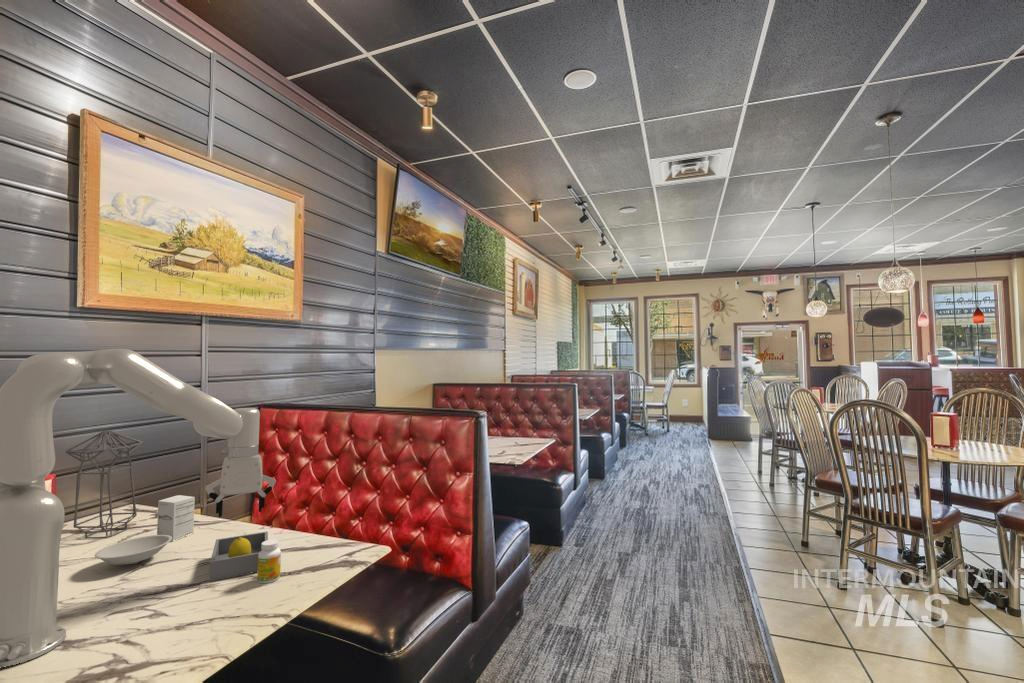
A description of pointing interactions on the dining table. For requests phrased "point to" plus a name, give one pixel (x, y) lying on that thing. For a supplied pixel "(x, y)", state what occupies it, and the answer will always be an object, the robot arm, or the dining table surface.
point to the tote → (235, 565)
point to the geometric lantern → (71, 452)
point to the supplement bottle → (269, 562)
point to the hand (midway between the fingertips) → (240, 513)
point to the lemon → (239, 547)
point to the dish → (133, 549)
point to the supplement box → (176, 516)
